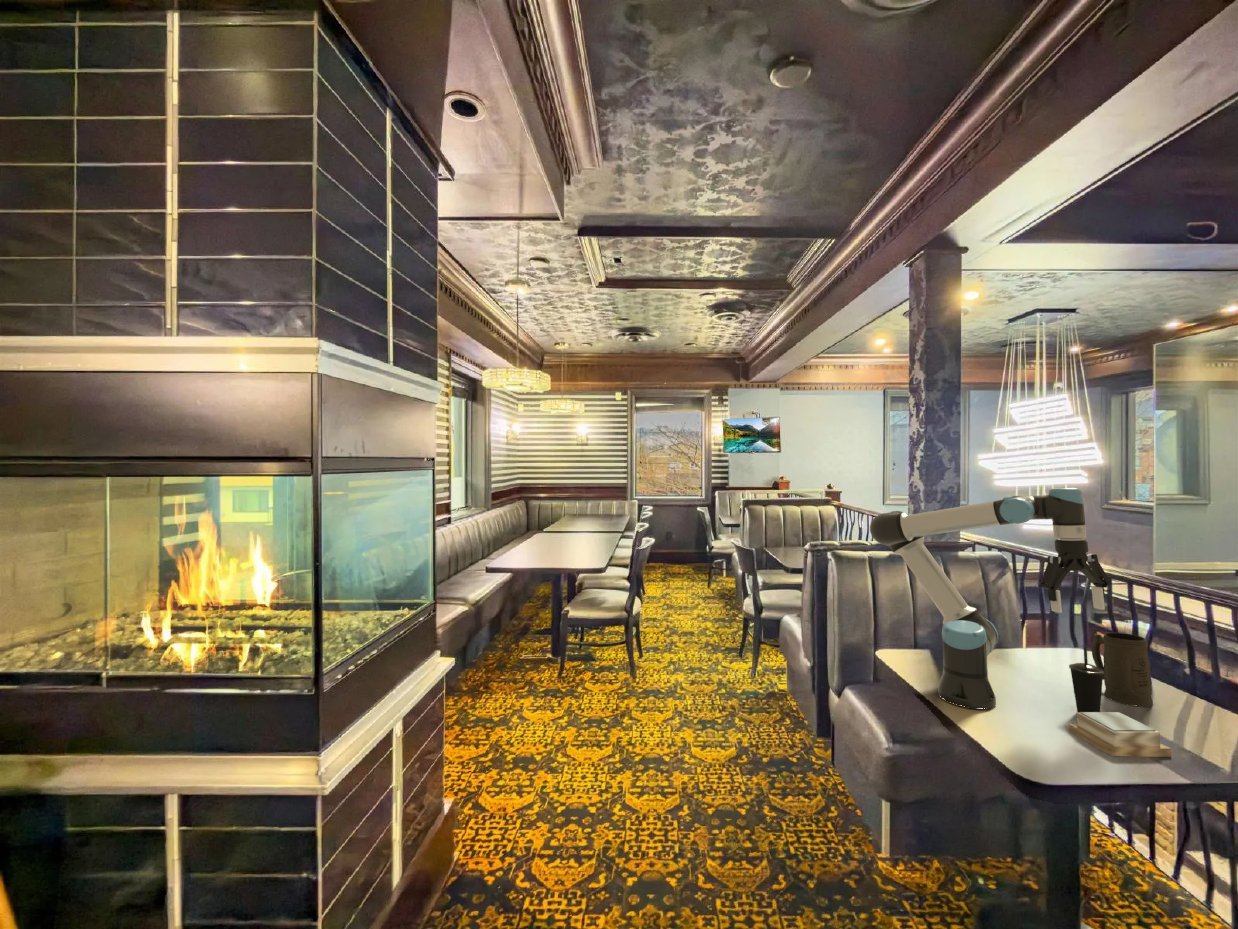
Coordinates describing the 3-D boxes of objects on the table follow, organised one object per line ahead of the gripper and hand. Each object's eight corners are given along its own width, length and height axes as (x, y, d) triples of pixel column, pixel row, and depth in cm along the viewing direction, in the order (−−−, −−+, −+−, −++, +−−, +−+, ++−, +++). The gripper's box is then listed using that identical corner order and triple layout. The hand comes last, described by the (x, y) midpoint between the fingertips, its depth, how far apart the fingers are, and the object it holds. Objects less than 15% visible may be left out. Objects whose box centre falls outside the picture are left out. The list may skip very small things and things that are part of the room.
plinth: (1112, 756, 128) (1111, 733, 128) (1069, 731, 141) (1068, 709, 141) (1171, 756, 128) (1169, 733, 128) (1122, 731, 140) (1121, 709, 141)
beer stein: (1165, 705, 155) (1155, 637, 157) (1141, 710, 152) (1132, 641, 154) (1105, 689, 170) (1097, 627, 172) (1082, 693, 167) (1074, 630, 169)
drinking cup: (1099, 724, 145) (1095, 652, 146) (1066, 713, 152) (1062, 645, 152) (1111, 717, 148) (1107, 647, 149) (1078, 707, 155) (1075, 640, 156)
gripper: (1042, 542, 150) (1050, 616, 149) (1121, 537, 152) (1129, 610, 151) (1021, 540, 158) (1028, 610, 156) (1096, 535, 159) (1104, 605, 158)
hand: (1078, 610), depth 153 cm, fingers open, 13 cm apart
